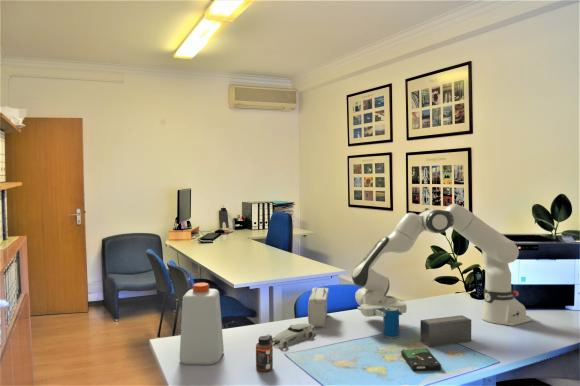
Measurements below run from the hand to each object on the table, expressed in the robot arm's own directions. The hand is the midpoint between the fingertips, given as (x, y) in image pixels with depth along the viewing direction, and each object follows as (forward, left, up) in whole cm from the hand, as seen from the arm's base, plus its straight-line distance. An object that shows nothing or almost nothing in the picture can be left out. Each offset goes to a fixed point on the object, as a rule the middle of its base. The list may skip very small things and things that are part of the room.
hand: (392, 314), depth 193 cm
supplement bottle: (+59, +13, -10) cm, 61 cm away
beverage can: (0, -1, -10) cm, 10 cm away
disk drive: (+3, +25, -10) cm, 28 cm away
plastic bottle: (+79, -4, -10) cm, 80 cm away
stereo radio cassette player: (+22, -30, -10) cm, 38 cm away
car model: (+41, -12, -10) cm, 43 cm away
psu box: (-18, +11, -10) cm, 23 cm away
